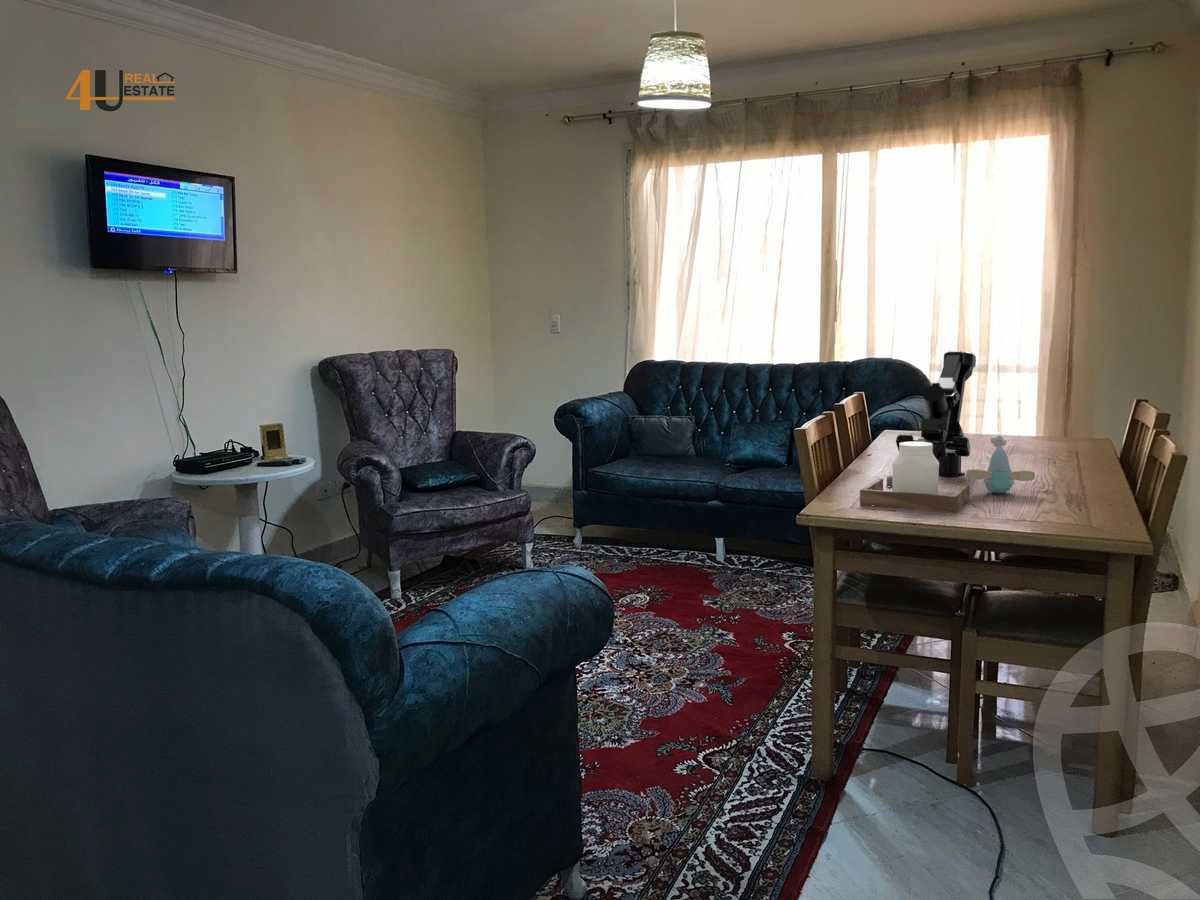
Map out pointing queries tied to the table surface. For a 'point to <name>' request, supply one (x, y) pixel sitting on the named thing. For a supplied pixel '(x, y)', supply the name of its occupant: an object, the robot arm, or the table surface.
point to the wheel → (889, 480)
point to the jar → (915, 469)
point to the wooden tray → (913, 498)
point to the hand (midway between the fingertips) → (927, 470)
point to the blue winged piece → (999, 470)
